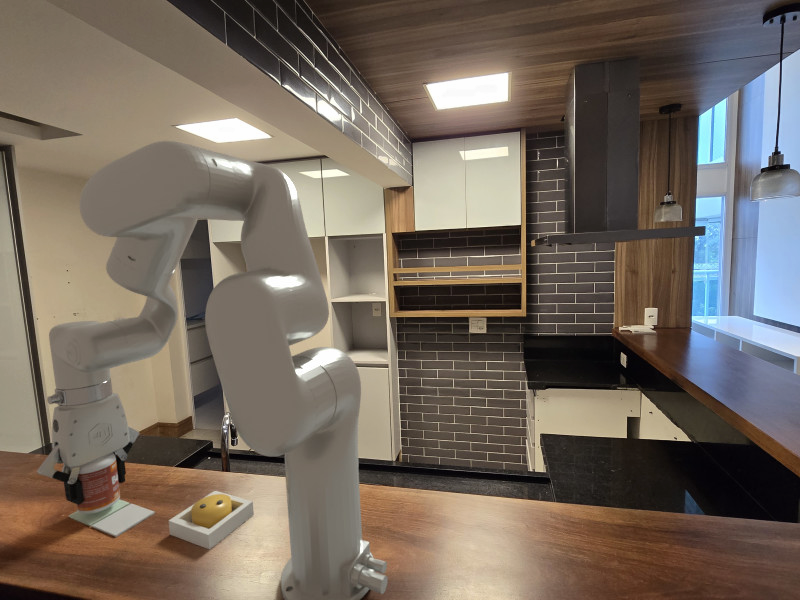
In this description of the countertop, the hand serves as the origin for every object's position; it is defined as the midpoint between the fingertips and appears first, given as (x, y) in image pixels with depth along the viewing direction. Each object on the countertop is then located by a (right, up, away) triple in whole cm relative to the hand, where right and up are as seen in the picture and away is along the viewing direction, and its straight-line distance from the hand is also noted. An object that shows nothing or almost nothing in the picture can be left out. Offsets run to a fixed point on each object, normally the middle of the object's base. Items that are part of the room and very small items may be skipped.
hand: (98, 490), depth 72 cm
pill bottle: (0, -3, 0) cm, 3 cm away
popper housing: (+22, -4, -4) cm, 23 cm away
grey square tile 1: (+6, -4, -2) cm, 8 cm away
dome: (+22, -3, -4) cm, 23 cm away
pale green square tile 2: (0, -4, +1) cm, 4 cm away
